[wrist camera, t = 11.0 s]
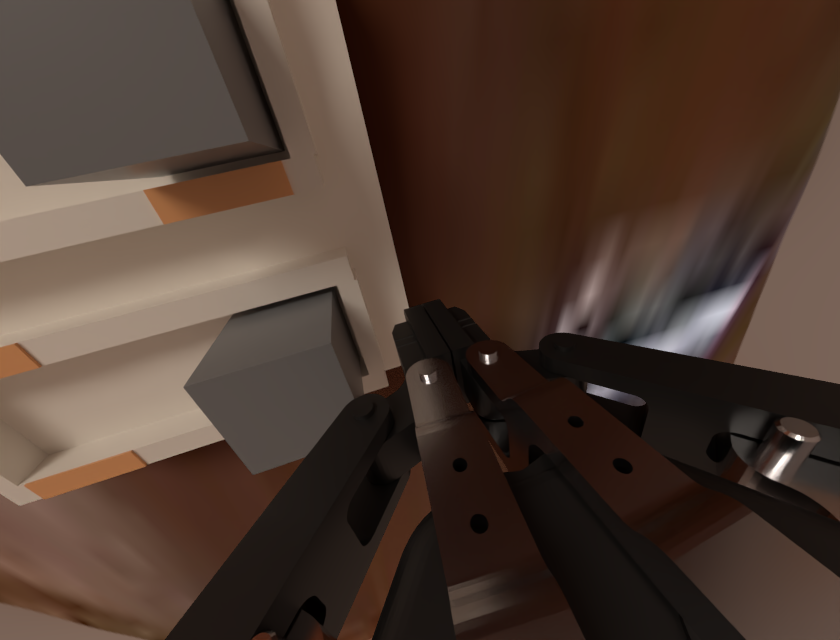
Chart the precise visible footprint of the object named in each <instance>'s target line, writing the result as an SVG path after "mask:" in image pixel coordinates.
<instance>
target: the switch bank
mask: <svg viewBox="0 0 840 640" xmlns="http://www.w3.org/2000/svg"><path fill="white" fill-rule="evenodd" d="M230 3H231V6H232V9H233V11H234V14H235V17H236V19H237V22H238V25H239V28H240V30H241V33H242V36H243V39H244V41H245V44H246V47H247V49H248V52H249V55H250V58H251V60H252V63H253V66H254V68H255V71H256V74H257V77H258V79H259V82H260V85H261V88H262V90H263V93H264V96H265V98H266V101H267V104H268V107H269V109H270V112H271V115H272V117H273V120H274V123H275V126H276V128H277V131H278V134H279V136H280V139H281V142H282V145H283V147H284V150H285V151H282V152H278V153H273V154H268V155H264V156H259V157H254V158H249V159H245V160H240V161H235V162H230V163H226V164H221V165H216V166H212V167H207V168H202V169H197V170H193V171H188V172H183V173H179V174H174V175H169V176H164V177H155V178H141V179H126V180H112V181H98V182H84V183H70V184H55V185H41V186H27V187H26V186H25V185H24V183H23V182H22V181H21V180H20V178H19V177H18V176H17V175H16V173H15V172H14V171H13V170H12V168H11V167H10V166H9V165H8V163H7V162H6V161H5V159H4V158H3V157H2V156H1V154H0V494H1V495H3V496H4V497H6V498H8V499H9V500H11V501H13V502H14V503H16V504H17V505H19V506H21V505H24V504H27V503H30V502H33V501H36V500H39V499H42V498H43V499H47V498H50V497H53V496H56V495H60V494H63V493H66V492H69V491H72V490H75V489H78V488H81V487H84V486H87V485H90V484H93V483H96V482H100V481H103V480H106V479H109V478H112V477H115V476H118V475H121V474H124V473H127V472H130V471H133V470H136V469H139V468H143V467H146V466H147V464H150V463H153V462H156V461H159V460H162V459H165V458H168V457H172V456H175V455H178V454H181V453H184V452H187V451H190V450H193V449H196V448H199V447H202V446H205V445H209V444H212V443H215V442H218V441H221V440H224V438H223V437H222V435H221V434H220V433H219V432H218V430H217V429H216V428H215V427H214V425H213V424H212V423H211V422H210V420H209V419H208V418H207V417H206V415H205V414H204V413H203V412H202V410H201V409H200V408H199V407H198V405H197V404H196V403H195V402H194V400H193V399H192V398H191V397H190V395H189V394H188V393H187V392H186V390H185V389H184V388H183V387H184V385H185V384H186V382H187V381H188V379H189V378H190V376H191V375H192V373H193V372H194V370H195V369H196V367H197V366H198V365H199V363H200V362H201V360H202V359H203V357H204V356H205V354H206V353H207V351H208V350H209V348H210V347H211V345H212V344H213V343H214V341H215V340H216V338H217V337H218V335H219V334H220V332H221V331H222V329H223V328H224V326H225V325H226V323H227V322H228V320H229V319H230V318H231V316H232V315H233V314H234V313H238V312H241V311H245V310H249V309H252V308H256V307H260V306H263V305H267V304H271V303H274V302H278V301H282V300H285V299H289V298H292V297H296V296H300V295H303V294H307V293H311V292H314V291H318V290H322V289H325V288H329V287H334V289H335V292H336V295H337V298H338V300H339V303H340V306H341V308H342V311H343V314H344V317H345V319H346V322H347V325H348V327H349V330H350V333H351V335H352V338H353V341H354V344H355V346H356V349H357V352H358V354H359V359H360V367H361V374H362V382H363V390H364V394H366V393H369V392H372V391H375V390H378V389H381V388H384V387H387V386H389V384H388V380H387V376H386V372H385V371H386V370H389V369H392V368H395V367H398V366H401V363H400V359H399V356H398V352H397V349H396V346H395V342H394V339H393V335H392V331H393V328H394V326H395V325H396V324H399V323H403V322H406V319H405V315H404V309H407V308H409V306H408V302H407V298H406V294H405V289H404V285H403V281H402V277H401V273H400V268H399V264H398V260H397V256H396V252H395V247H394V243H393V239H392V235H391V231H390V227H389V222H388V218H387V214H386V210H385V206H384V201H383V197H382V193H381V189H380V185H379V180H378V176H377V172H376V168H375V164H374V159H373V155H372V151H371V147H370V143H369V139H368V134H367V130H366V126H365V122H364V118H363V113H362V109H361V105H360V101H359V97H358V92H357V88H356V84H355V80H354V76H353V71H352V67H351V63H350V59H349V55H348V51H347V46H346V42H345V38H344V34H343V30H342V25H341V21H340V17H339V13H338V9H337V4H336V0H230Z"/></svg>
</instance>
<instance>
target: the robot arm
mask: <svg viewBox="0 0 840 640" xmlns="http://www.w3.org/2000/svg"><path fill="white" fill-rule="evenodd" d="M404 315H405V319H406V322H403V323H399V324H396V325H395V326H394V328H393V331H392V335H393V339H394V342H395V346H396V349H397V352H398V356H399V359H400V363H401V366H402V369H403V372H404V375H405V380H404V383H403V384H402V386H401V387H400V388H399V389H398V390H397V391H396V392H394V393H393V394H392V395H390V396H388V397H387V398H384V397H383V396H381V395H378V394H365V395H362V396H359V397H357V398H355V399H353V400H352V401H350V402H349V403H348V404H347V405H346V406H345V407H344V408H343V410H342V411H341V412H340V414H339V415H338V416H337V417H336V419H335V420H334V421H333V423H332V424H331V425H330V426H329V428H328V429H327V430H326V432H325V433H324V434H323V436H322V437H321V438H320V439H319V441H318V442H317V443H316V445H315V446H314V447H313V449H312V450H311V451H310V452H309V454H308V455H307V456H306V458H305V459H304V460H303V461H302V463H301V464H300V465H299V467H298V468H297V469H296V471H295V472H294V473H293V474H292V476H291V477H290V478H289V480H288V481H287V482H286V483H285V485H284V486H283V487H282V489H281V490H280V491H279V493H278V494H277V495H276V496H275V498H274V499H273V500H272V502H271V503H270V504H269V505H268V507H267V508H266V509H265V511H264V512H263V513H262V515H261V516H260V517H259V518H258V520H257V521H256V522H255V524H254V525H253V526H252V527H251V529H250V530H249V531H248V533H247V534H246V535H245V537H244V538H243V539H242V540H241V542H240V543H239V544H238V546H237V547H236V548H235V549H234V551H233V552H232V553H231V555H230V556H229V557H228V559H227V560H226V561H225V562H224V564H223V565H222V566H221V568H220V569H219V570H218V572H217V573H216V574H215V575H214V577H213V578H212V579H211V581H210V582H209V583H208V584H207V586H206V587H205V588H204V590H203V591H202V592H201V594H200V595H199V596H198V597H197V599H196V600H195V601H194V603H193V604H192V605H191V606H190V608H189V609H188V610H187V612H186V613H185V614H184V616H183V617H182V618H181V619H180V621H179V622H178V623H177V625H176V626H175V627H174V628H173V630H172V631H171V632H170V634H169V635H168V636H167V638H166V639H165V640H337V637H338V635H339V633H340V631H341V629H342V626H343V624H344V622H345V620H346V617H347V615H348V613H349V611H350V608H351V606H352V604H353V602H354V600H355V597H356V595H357V593H358V591H359V588H360V586H361V584H362V582H363V579H364V577H365V575H366V573H367V570H368V568H369V566H370V564H371V562H372V559H373V557H374V555H375V553H376V550H377V548H378V546H379V544H380V541H381V539H382V537H383V535H384V533H385V530H386V528H387V526H388V524H389V521H390V519H391V517H392V515H393V512H394V510H395V508H396V506H397V504H398V501H399V499H400V497H401V495H402V492H403V490H404V488H405V486H406V483H407V481H408V479H409V476H410V469H411V468H412V467H414V466H415V465H416V464H418V463H419V462H420V461H422V466H423V471H424V476H425V481H426V485H427V490H428V495H429V500H430V505H431V510H432V511H431V512H430V513H429V514H428V515H427V516H426V517H425V518H424V519H423V520H422V521H421V522H420V524H419V525H418V526H417V527H416V529H415V531H414V532H413V534H412V535H411V537H410V539H409V541H408V543H407V545H406V547H405V549H404V551H403V554H402V556H401V559H400V562H399V564H398V567H397V570H396V573H395V576H394V579H393V581H392V584H391V587H390V590H389V593H388V596H387V598H386V601H385V604H384V607H383V610H382V613H381V615H380V618H379V621H378V624H377V627H376V629H375V632H374V635H373V638H372V640H840V384H836V383H831V382H826V381H820V380H815V379H810V378H804V377H799V376H793V375H788V374H783V373H777V372H772V371H767V370H762V369H756V368H751V367H746V366H741V365H735V364H730V363H725V362H719V361H714V360H709V359H703V358H698V357H693V356H687V355H682V354H677V353H672V352H666V351H661V350H656V349H650V348H645V347H640V346H634V345H629V344H624V343H618V342H613V341H608V340H603V339H597V338H592V337H587V336H581V335H576V334H571V333H554V334H550V335H547V336H545V337H544V338H542V339H541V341H540V343H539V349H537V350H526V351H513V350H512V349H511V348H510V347H509V346H508V345H506V344H505V343H503V342H500V341H495V340H490V339H489V337H488V336H487V335H486V334H485V333H484V332H483V331H482V330H481V328H480V327H479V326H478V325H477V324H475V322H474V321H473V319H472V318H470V316H469V315H468V314H467V313H466V312H465V311H464V310H462V309H459V308H457V307H452V308H449V309H447V308H446V307H445V305H444V304H443V303H442V302H441V300H440V299H437V300H434V301H431V302H427V303H424V304H422V305H417V306H414V307H411V308H407V309H404ZM587 382H588V383H592V384H595V385H599V386H603V387H606V388H610V389H614V390H617V391H621V392H625V393H628V394H632V395H635V396H638V397H640V398H642V399H643V400H644V401H645V402H646V404H645V405H643V406H631V405H627V404H624V403H620V402H617V401H614V400H610V399H607V398H603V397H600V396H596V395H593V394H589V393H586V390H587ZM469 402H470V403H471V405H472V407H473V410H474V411H470V410H469V408H468V405H467V403H469ZM488 440H489V441H488ZM489 442H490V443H491V445H492V446H493V448H494V449H495V451H496V452H497V454H498V455H499V457H500V458H501V460H502V461H503V463H504V464H505V466H506V468H507V470H508V472H504V473H503V471H502V469H501V467H500V465H499V462H498V460H497V458H496V456H495V454H494V451H493V449H492V447H491V445H490V443H489Z"/></svg>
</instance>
